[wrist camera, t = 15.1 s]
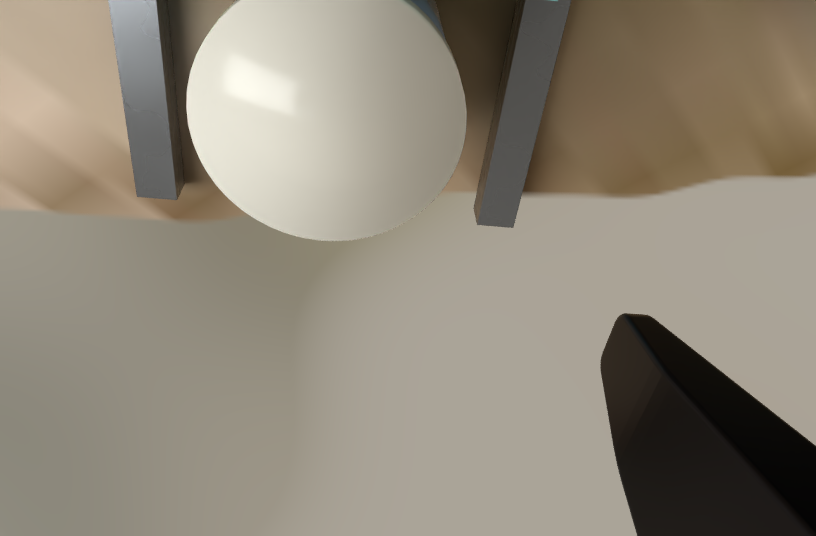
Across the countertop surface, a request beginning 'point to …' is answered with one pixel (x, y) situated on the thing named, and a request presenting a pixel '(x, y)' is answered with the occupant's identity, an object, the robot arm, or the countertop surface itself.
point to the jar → (328, 113)
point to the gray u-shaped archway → (508, 138)
